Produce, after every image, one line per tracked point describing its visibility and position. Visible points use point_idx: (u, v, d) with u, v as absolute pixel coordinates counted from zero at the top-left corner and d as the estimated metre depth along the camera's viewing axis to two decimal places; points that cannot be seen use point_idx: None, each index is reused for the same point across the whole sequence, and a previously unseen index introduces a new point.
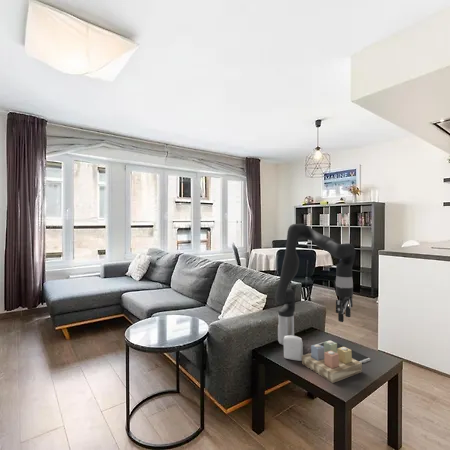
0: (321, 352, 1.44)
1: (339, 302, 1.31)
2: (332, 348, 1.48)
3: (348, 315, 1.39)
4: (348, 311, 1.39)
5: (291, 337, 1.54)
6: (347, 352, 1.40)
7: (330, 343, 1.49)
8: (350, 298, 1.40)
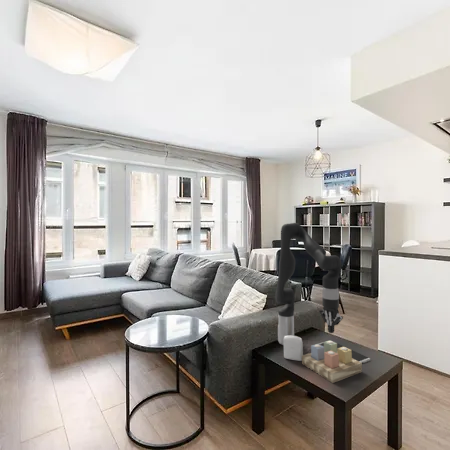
0: (321, 352, 1.44)
1: (341, 319, 1.33)
2: (332, 348, 1.48)
3: None
4: None
5: (291, 337, 1.54)
6: (347, 352, 1.40)
7: (330, 343, 1.49)
8: (325, 311, 1.43)
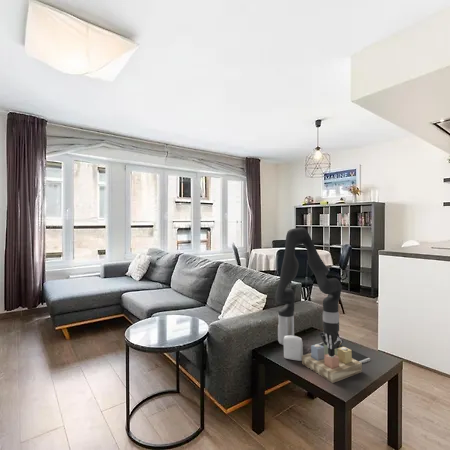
0: (321, 352, 1.44)
1: (341, 342, 1.33)
2: None
3: None
4: None
5: (291, 337, 1.54)
6: (347, 352, 1.40)
7: None
8: None
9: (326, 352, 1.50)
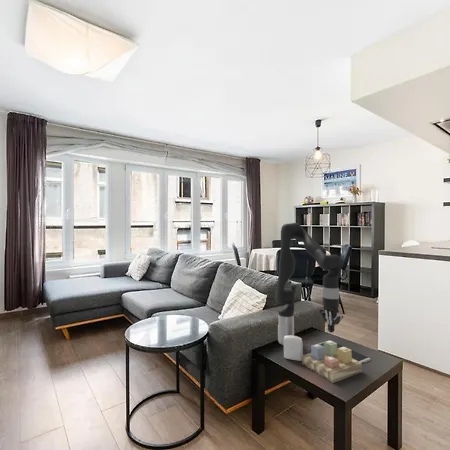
0: (321, 352, 1.44)
1: (341, 318, 1.33)
2: (332, 348, 1.48)
3: None
4: None
5: (291, 337, 1.54)
6: (347, 352, 1.40)
7: (330, 343, 1.49)
8: (325, 311, 1.43)
9: (326, 352, 1.50)
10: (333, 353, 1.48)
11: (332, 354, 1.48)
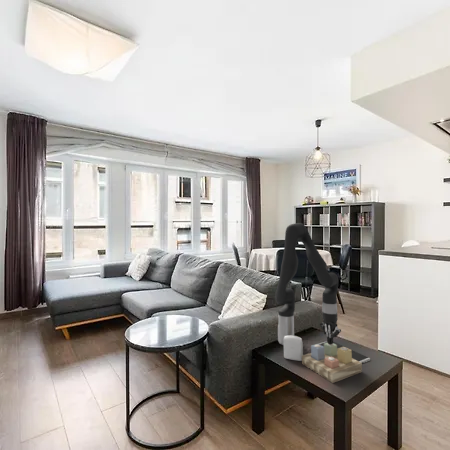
0: (321, 352, 1.44)
1: (339, 331, 1.45)
2: (332, 350, 1.48)
3: None
4: None
5: (291, 337, 1.54)
6: (347, 352, 1.40)
7: (330, 345, 1.49)
8: None
9: (326, 354, 1.50)
10: (333, 354, 1.48)
11: None
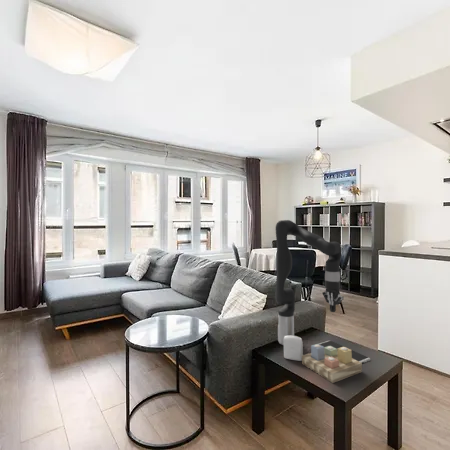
0: (321, 352, 1.44)
1: (342, 298, 1.47)
2: (332, 354, 1.48)
3: None
4: None
5: (291, 337, 1.54)
6: (347, 352, 1.40)
7: (330, 349, 1.49)
8: None
9: None
10: None
11: None
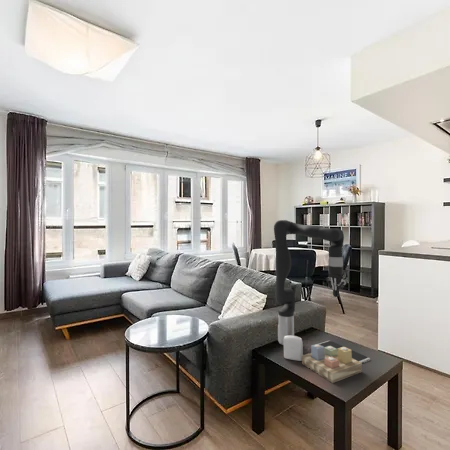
0: (321, 352, 1.44)
1: (345, 283, 1.51)
2: (332, 354, 1.48)
3: None
4: None
5: (291, 337, 1.54)
6: (347, 352, 1.40)
7: (330, 349, 1.49)
8: None
9: None
10: None
11: None
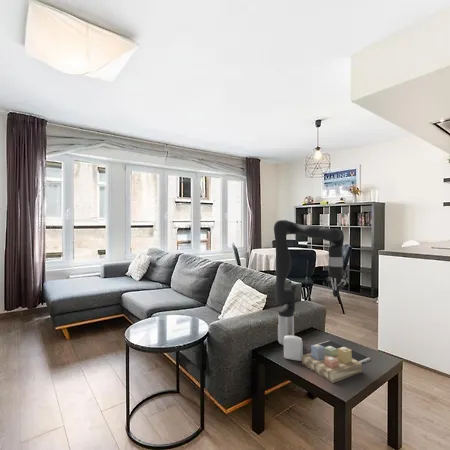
0: (321, 352, 1.44)
1: (345, 283, 1.51)
2: (332, 354, 1.48)
3: None
4: None
5: (291, 337, 1.54)
6: (347, 352, 1.40)
7: (330, 349, 1.49)
8: None
9: None
10: None
11: None
